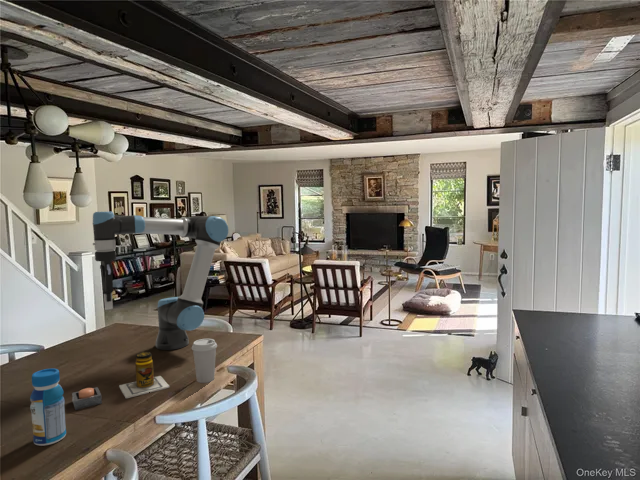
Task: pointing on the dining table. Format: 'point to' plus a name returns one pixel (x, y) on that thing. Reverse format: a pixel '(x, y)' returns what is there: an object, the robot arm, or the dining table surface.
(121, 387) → the white rectangular plate
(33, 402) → the beverage bottle
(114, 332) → the dining table surface
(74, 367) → the dining table surface
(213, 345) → the coffee cup
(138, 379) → the condiment
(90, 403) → the button box
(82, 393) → the button
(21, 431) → the dining table surface
